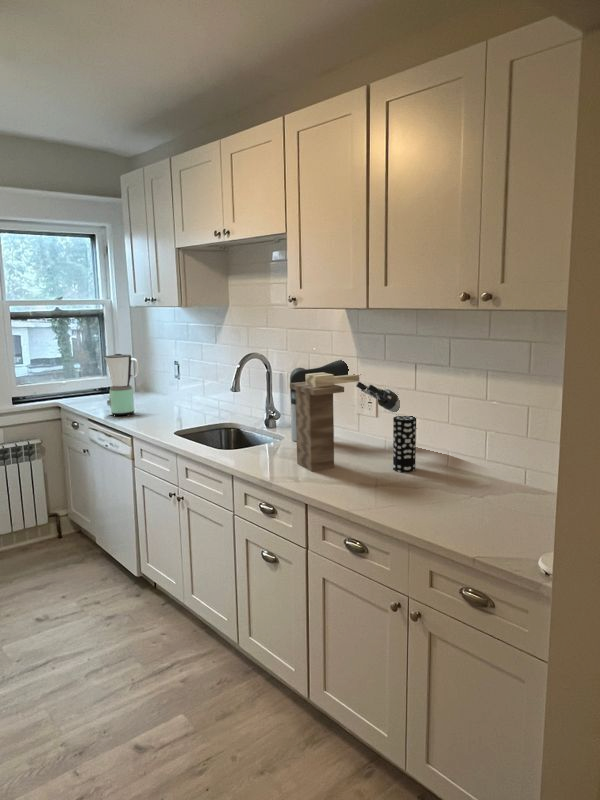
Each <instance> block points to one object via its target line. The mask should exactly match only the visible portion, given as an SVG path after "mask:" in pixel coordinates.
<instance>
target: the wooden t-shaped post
mask: <svg viewBox="0 0 600 800" xmlns="http://www.w3.org/2000/svg"><path fill="white" fill-rule="evenodd" d="M290 389H294V390H295V394H296V434H297V442H296V462H297V465H299V466H300V467H302V468H304V469H306V470H308V471H309V472H316V470H317V471H323V470H327V469H328V470H329V469H333V467H334V468H335V442H334V441H335V436H334V435H335V431H334V430H335V429H334V426H335V425H334V394H338V393H340V394H341V393H345V386H341V385H339V384H334V385H330V386H320V387H314V386H310V385H306V382H298V383H290V382H289V390H290ZM322 469H323V470H322Z"/></svg>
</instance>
